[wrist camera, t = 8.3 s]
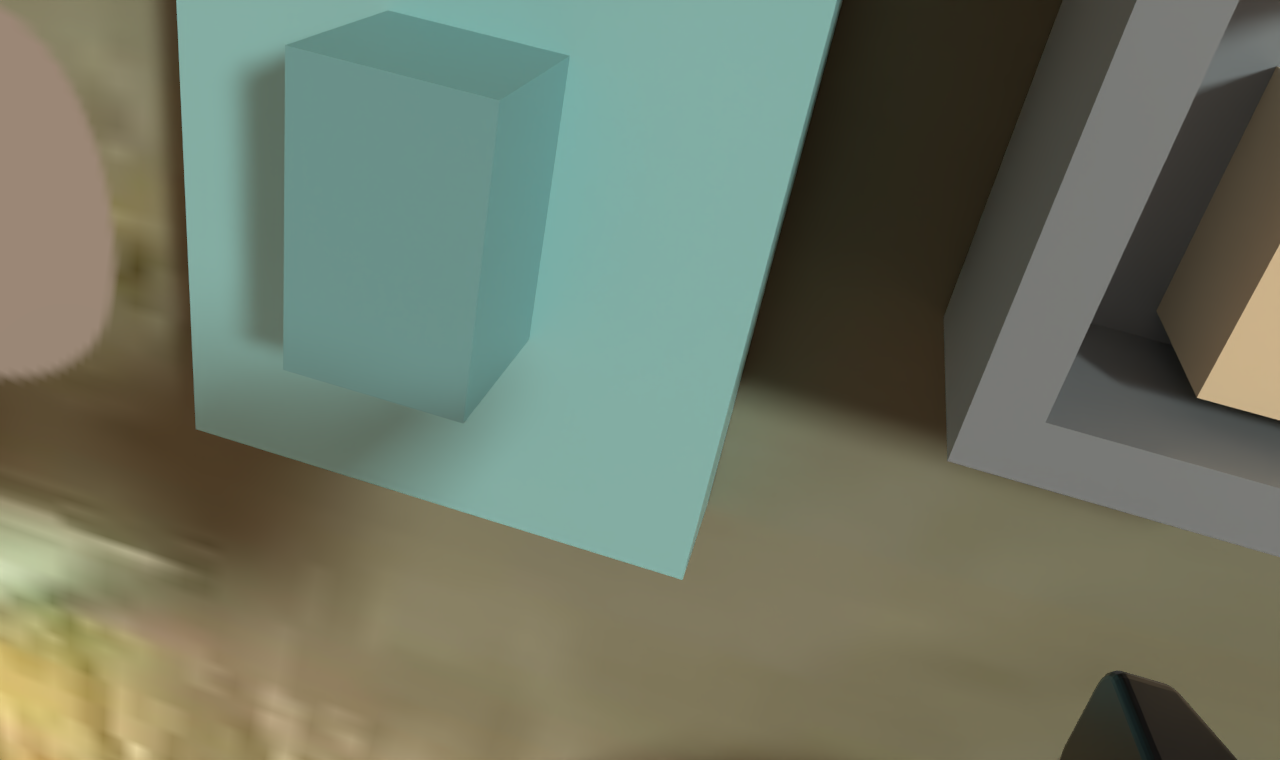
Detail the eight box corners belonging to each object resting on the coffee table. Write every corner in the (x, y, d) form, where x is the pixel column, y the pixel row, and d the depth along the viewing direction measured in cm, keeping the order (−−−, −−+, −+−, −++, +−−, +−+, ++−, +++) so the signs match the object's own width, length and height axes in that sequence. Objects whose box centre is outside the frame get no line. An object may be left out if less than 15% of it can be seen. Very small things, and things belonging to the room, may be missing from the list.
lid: (706, 507, 22) (645, 691, 17) (263, 374, 23) (94, 512, 19) (897, -202, 15) (882, -215, 11) (259, -335, 17) (-7, -399, 12)
